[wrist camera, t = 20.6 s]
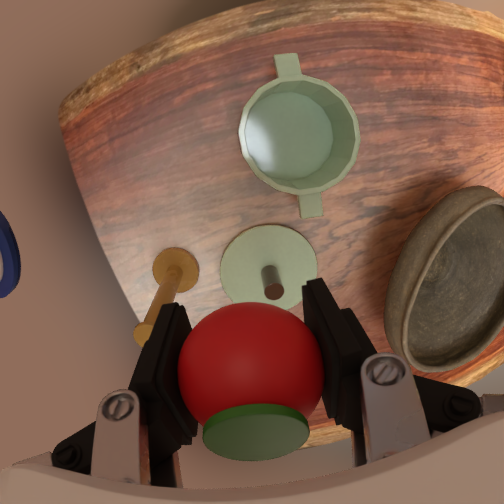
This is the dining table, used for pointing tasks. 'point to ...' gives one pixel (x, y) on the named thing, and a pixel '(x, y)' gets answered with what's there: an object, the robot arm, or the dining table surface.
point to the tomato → (251, 380)
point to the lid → (268, 266)
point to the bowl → (449, 282)
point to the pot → (299, 135)
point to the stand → (168, 285)
